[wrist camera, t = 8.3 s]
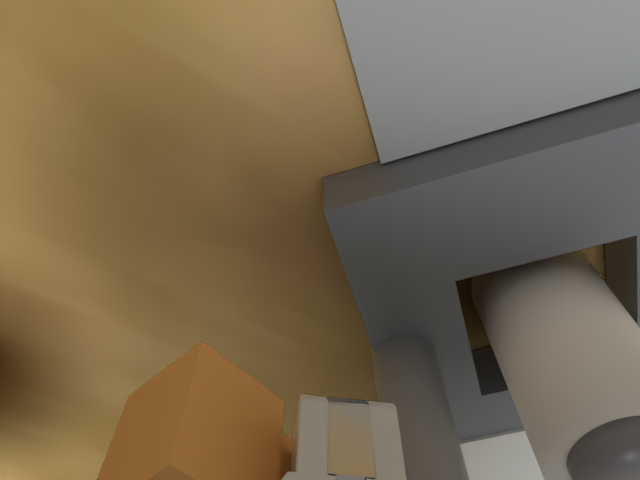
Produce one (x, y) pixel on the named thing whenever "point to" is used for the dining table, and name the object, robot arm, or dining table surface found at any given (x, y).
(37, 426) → the dining table surface
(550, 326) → the plug
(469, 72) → the pad
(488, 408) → the stand
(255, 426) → the orange wooden bar
